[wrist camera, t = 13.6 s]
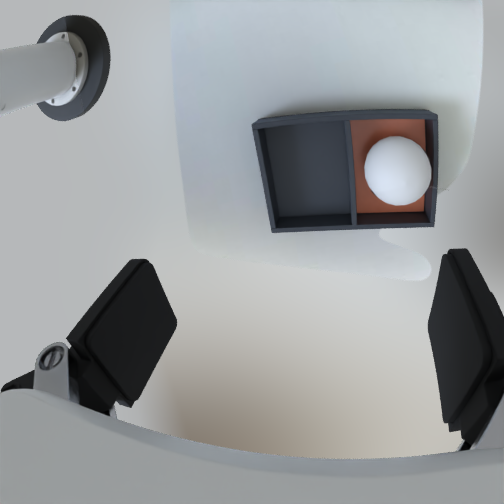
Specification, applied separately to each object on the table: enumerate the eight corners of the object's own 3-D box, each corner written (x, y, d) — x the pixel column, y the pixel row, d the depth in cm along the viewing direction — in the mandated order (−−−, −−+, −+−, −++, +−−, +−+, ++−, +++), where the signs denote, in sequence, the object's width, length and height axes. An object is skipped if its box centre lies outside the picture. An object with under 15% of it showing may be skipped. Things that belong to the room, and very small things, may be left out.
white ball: (350, 173, 34) (354, 198, 28) (378, 118, 29) (390, 130, 23) (418, 210, 34) (434, 241, 28) (448, 161, 29) (472, 183, 23)
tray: (276, 219, 40) (271, 233, 37) (258, 119, 33) (251, 124, 30) (426, 213, 34) (434, 227, 31) (427, 109, 28) (437, 114, 25)
